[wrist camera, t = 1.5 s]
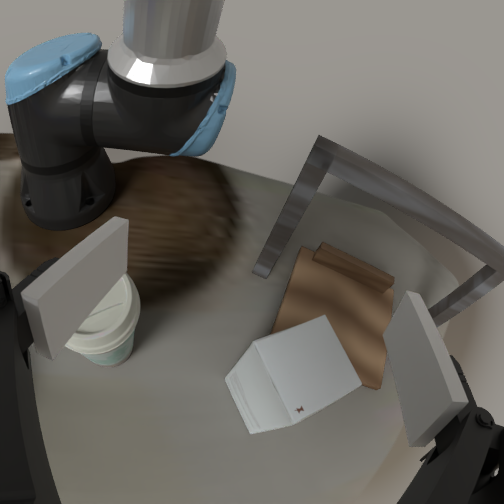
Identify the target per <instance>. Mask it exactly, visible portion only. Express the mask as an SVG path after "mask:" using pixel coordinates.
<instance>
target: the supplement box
mask: <svg viewBox="0 0 504 504" xmlns="http://www.w3.org/2000/svg"><path fill="white" fill-rule="evenodd" d="M225 381H226V383H227V385H228V388H229V390H230V392H231V394H232V397H233V399H234V401H235V403H236V405H237V407H238V410H239V412H240V414H241V416H242V418H243V420H244V422H245V424H246V426H247V428H248V430H249V433H250V434H254V433H259V432H264V431H269V430H274V429H278V428H283V427H287V426H291V425H294V424H296V423H298V422H300V421H302V420H304V419H306V418H308V417H310V416H311V415H313V414H315V413H317V412H319V411H320V410H322V409H324V408H326V407H327V406H329V405H331V404H332V403H334V402H336V401H337V400H339V399H341V398H342V397H344V396H345V395H347V394H349V393H350V392H352V391H353V390H355V389H356V388H358V387H360V386H361V385H362V382H361V380H360V379H359V377H358V375H357V373H356V371H355V369H354V367H353V365H352V364H351V362H350V360H349V358H348V356H347V354H346V352H345V350H344V349H343V347H342V345H341V343H340V341H339V339H338V337H337V336H336V334H335V332H334V330H333V328H332V326H331V324H330V323H329V321H328V319H327V317H326V315H323V316H320V317H318V318H315V319H313V320H310V321H308V322H305V323H302V324H299V325H297V326H294V327H291V328H288V329H285V330H283V331H280V332H277V333H274V334H271V335H268V336H265V337H262V338H259V339H256V340H254V341H253V342H252V343H251V345H250V346H249V348H248V349H247V351H246V352H245V353H244V354H243V356H242V357H241V358H240V359H239V361H238V362H237V363H236V364H235V366H234V367H233V368H232V369H231V371H230V372H229V373H228V375H227V376H226V377H225Z"/></svg>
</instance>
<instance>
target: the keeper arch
mask: <svg viewBox="0 0 504 504" xmlns="http://www.w3.org/2000/svg"><path fill="white" fill-rule="evenodd" d="M327 172H328V173H330V174H332V175H334V176H336V177H338V178H340V179H342V180H344V181H346V182H348V183H350V184H352V185H354V186H356V187H358V188H360V189H361V190H363V191H365V192H367V193H369V194H371V195H373V196H375V197H377V198H379V199H380V200H382V201H384V202H386V203H388V204H389V205H392V206H393V207H395V208H397V209H398V210H400V211H402V212H404V213H406V214H407V215H409V216H411V217H412V218H414V219H416V220H417V221H419V222H421V223H423V224H424V225H426V226H428V227H429V228H431V229H433V230H434V231H436V232H438V233H439V234H441V235H442V236H444V237H446V238H447V239H449V240H451V241H452V242H454V243H455V244H457V245H458V246H460V247H462V248H463V249H464V250H466V251H468V252H469V253H471V254H472V255H474V256H475V257H477V258H478V259H480V260H481V261H483V262H484V263H486V264H487V265H485V266H484V267H483V268H482V269H481V270H479V271H478V272H477V273H476V274H474V275H473V276H472V277H471V278H469V279H468V280H467V281H466V282H464V283H463V284H462V285H461V286H459V287H458V288H457V289H455V290H454V291H453V292H452V293H450V294H449V295H448V296H446V297H445V298H444V299H442V300H441V301H439V302H438V303H437V304H435V305H434V306H433V307H431V308H430V309H428V311H429V313H430V315H431V317H432V319H433V321H434V323H435V325H436V327H438V326H440V325H442V324H443V323H445V322H446V321H448V320H449V319H451V318H452V317H454V316H455V315H457V314H458V313H460V312H461V311H462V310H464V309H466V308H467V307H468V306H470V305H471V304H473V303H474V302H475V301H477V300H478V299H480V298H481V297H482V296H484V295H485V294H487V293H488V292H489V291H491V290H492V289H493V288H495V287H496V286H497V285H499V284H500V283H501V282H502V281H504V246H502V245H501V244H500V243H499V242H497V241H496V240H495V239H493V238H492V237H491V236H489V235H488V234H486V233H485V232H484V231H482V230H481V229H480V228H478V227H477V226H475V225H474V224H472V223H471V222H470V221H468V220H467V219H465V218H464V217H462V216H461V215H459V214H458V213H456V212H455V211H453V210H452V209H450V208H449V207H447V206H446V205H444V204H443V203H441V202H440V201H438V200H436V199H435V198H433V197H432V196H430V195H429V194H427V193H425V192H424V191H422V190H420V189H419V188H417V187H415V186H414V185H412V184H410V183H409V182H407V181H405V180H404V179H402V178H400V177H398V176H397V175H395V174H393V173H391V172H390V171H388V170H386V169H384V168H383V167H381V166H379V165H377V164H375V163H373V162H372V161H370V160H368V159H366V158H364V157H362V156H360V155H358V154H356V153H354V152H353V151H351V150H349V149H347V148H344V147H343V146H341V145H339V144H337V143H335V142H333V141H330V140H328V139H326V138H324V137H322V136H320V135H319V136H318V138H317V140H316V142H315V144H314V146H313V148H312V150H311V152H310V154H309V156H308V158H307V160H306V162H305V164H304V166H303V168H302V171H301V173H300V175H299V177H298V179H297V181H296V183H295V185H294V187H293V189H292V191H291V193H290V195H289V197H288V199H287V201H286V203H285V205H284V207H283V209H282V211H281V213H280V215H279V217H278V219H277V222H276V224H275V226H274V228H273V230H272V232H271V234H270V236H269V238H268V240H267V242H266V244H265V246H264V248H263V250H262V252H261V254H260V256H259V258H258V260H257V262H256V264H255V267H254V269H253V271H252V273H254V274H256V275H258V276H261V277H263V278H265V279H266V278H267V276H268V274H269V273H270V271H271V269H272V268H273V266H274V264H275V262H276V261H277V259H278V257H279V255H280V254H281V252H282V250H283V249H284V247H285V245H286V243H287V242H288V240H289V238H290V236H291V235H292V233H293V231H294V229H295V228H296V226H297V224H298V222H299V221H300V219H301V217H302V215H303V214H304V212H305V210H306V208H307V207H308V205H309V203H310V201H311V200H312V198H313V196H314V194H315V192H316V191H317V189H318V187H319V185H320V183H321V182H322V180H323V178H324V176H325V174H326V173H327ZM393 284H394V277H393V276H391V275H389V274H387V273H385V272H383V271H381V270H379V269H377V268H375V267H373V266H371V265H369V264H367V263H365V262H363V261H361V260H359V259H357V258H355V257H353V256H351V255H349V254H347V253H345V252H343V251H341V250H339V249H336V248H334V247H332V246H330V245H328V244H326V243H324V242H322V243H321V245H320V246H319V248H318V249H317V250H316V252H313V251H311V250H309V249H307V248H305V247H303V246H302V247H301V248H300V250H299V253H298V256H297V259H296V262H295V265H294V268H293V271H292V274H291V277H290V280H289V282H288V285H287V288H286V291H285V294H284V297H283V300H282V303H281V305H280V308H279V311H278V314H277V317H276V320H275V322H274V325H273V328H272V331H271V333H270V335H271V334H274V333H277V332H280V331H283V330H285V329H288V328H291V327H294V326H297V325H299V324H302V323H305V322H308V321H310V320H313V319H315V318H318V317H320V316H323V315H326V317H327V319H328V321H329V323H330V324H331V326H332V328H333V330H334V332H335V334H336V336H337V337H338V339H339V341H340V343H341V345H342V347H343V349H344V350H345V352H346V354H347V356H348V358H349V360H350V362H351V364H352V365H353V367H354V369H355V371H356V373H357V375H358V377H359V379H360V380H361V382H362V385H363V386H366V387H369V388H372V389H375V390H378V389H380V388H381V384H382V378H383V372H384V366H385V360H386V353H387V349H386V345H385V342H384V338H383V333H384V332H385V330H386V328H387V326H388V324H389V323H390V321H391V315H392V305H393V295H394V290H393V289H391V288H390V287H391V286H392V285H393Z"/></svg>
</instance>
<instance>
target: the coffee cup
mask: <svg viewBox="0 0 504 504" xmlns="http://www.w3.org/2000/svg"><path fill="white" fill-rule="evenodd" d="M139 315H140V297H139V293H138V291H137V288H136V286H135V284H134V282H133V281H132V279H131V278H130V276H129V275H128V274H127V273H125V274H124V275H123V276H122V277H121V278H120V279H119V280H118V282H117V283H116V284H115V285H114V286H113V287H112V289H111V290H110V291H109V292H108V293H107V294H106V296H105V297H104V298H103V299H102V300H101V301H100V303H99V304H98V305H97V306H96V307H95V309H94V310H93V311H92V312H91V313H90V315H89V316H88V317H87V318H86V319H85V321H84V322H83V323H82V324H81V326H80V327H79V328H78V329H77V330H76V332H75V333H74V334H73V335H72V337H71V338H70V339H69V340H68V342H67V343H66V344H65V346H66V347H67V348H69V349H71V350H73V351H76V352H79V353H81V354H82V355H83V356H85V357H86V358H88V359H89V360H91V361H92V362H94V363H95V364H97V365H99V366H102V367H116V366H119V365H121V364H122V363H124V362H125V361H126V360H127V359H128V358H129V356H130V354H131V352H132V349H133V341H134V332H135V327H136V325H137V322H138V319H139Z"/></svg>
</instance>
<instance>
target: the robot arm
mask: <svg viewBox="0 0 504 504" xmlns="http://www.w3.org/2000/svg"><path fill="white" fill-rule="evenodd" d="M224 1H225V0H124V14H123V34H121V35H120V36H119V37H118V38H117V39H116V40H115V41H114V42H113V43H112V44H111V46H110V48H109V50H104V49H100V48H101V46H102V42H101V41H100V38H99V37H98V35H96V34H91V33H77V34H71V35H66V36H62V37H58V38H55V39H52V40H49V41H47V42H44V43H42V44H40V45H37V46H35V47H33V48H31V49H30V50H28V51H26V52H25V53H23V54H22V55H20V56H19V57H18V58H17V59H15V60H14V62H12V64H11V65H10V66H9V68H8V70H7V72H6V75H5V86H6V103H7V105H8V111H9V115H10V120H11V124H12V128H13V133H14V137H15V141H16V144H17V148H18V152H19V155H20V159H21V163H22V172H21V190H20V195H21V201H22V204H23V207H24V210H25V212H26V214H27V216H28V218H29V219H30V220H31V221H32V222H33V223H34V224H36V225H37V226H39V227H42V228H45V229H48V230H68V229H73V228H76V227H79V226H82V225H84V224H86V223H88V222H90V221H92V220H93V219H95V218H96V217H98V216H99V215H100V214H101V213H102V212H103V211H104V210H105V209H106V208H107V207H108V205H109V204H110V202H111V201H112V199H113V196H114V193H115V188H116V183H115V172H114V168H113V165H112V163H111V161H110V159H109V157H108V155H107V154H106V152H105V149H104V147H105V148H114V149H124V150H133V151H141V152H149V153H157V154H164V155H169V156H178V155H182V156H201V155H203V154H205V153H206V152H208V150H210V148H211V147H212V146H213V144H214V142H215V140H216V138H217V136H218V134H219V132H220V130H221V127H222V125H223V122H224V119H225V116H226V110H227V108H228V105H229V103H230V101H231V97H232V94H233V89H234V84H235V79H236V68H235V66H234V64H233V63H231V62H228V61H227V60H226V56H227V52H226V48H225V46H224V44H223V42H222V41H221V40H220V39H219V38H218V37H217V36H216V31H217V28H218V24H219V20H220V16H221V12H222V8H223V5H224ZM128 223H129V220H127V219H123V218H119V217H115V216H114V217H113V218H112V219H110V220H109V221H108V222H106V223H105V224H104V225H102V226H101V227H100V228H98V229H97V230H96V231H94V232H93V233H92V234H90V235H89V236H88V237H87V238H85V239H84V240H83V241H81V242H80V243H79V244H78V245H76V246H75V247H74V248H73V249H71V250H70V251H69V252H68V253H66V254H65V255H64V256H63V257H62V258H60V259H59V258H56V257H55V258H53V259H51V260H48V261H46V262H44V263H43V264H42V265H40V266H39V267H38V268H37V270H34V271H33V272H32V273H31V274H30V275H28V276H27V277H26V278H25V279H24V280H22V281H21V282H20V283H19V284H18V285H17V286H15V287H14V288H13V289H11V284H10V279H9V276H8V275H7V274H6V273H4V272H1V271H0V504H61V501H60V498H59V495H58V492H57V489H56V486H55V483H54V480H53V476H52V473H51V469H50V466H49V462H48V458H47V454H46V450H45V446H44V441H43V437H42V432H41V428H40V422H39V417H38V412H37V406H36V400H35V393H34V386H33V378H32V369H31V359H30V352H29V349H28V348H29V346H30V345H31V344H32V343H33V342H34V345H35V348H36V351H37V353H38V354H40V355H42V356H44V357H46V358H48V359H50V360H52V361H53V360H54V358H55V357H56V356H57V355H58V353H59V352H60V351H61V349H62V348H63V347H64V346H65V344H66V343H67V342H68V340H69V339H70V338H71V337H72V335H73V334H74V333H75V332H76V330H77V329H78V328H79V327H80V326H81V324H82V323H83V322H84V321H85V319H86V318H87V317H88V316H89V315H90V313H91V312H92V311H93V310H94V309H95V307H96V306H97V305H98V304H99V303H100V301H101V300H102V299H103V298H104V297H105V296H106V294H107V293H108V292H109V291H110V290H111V289H112V287H113V286H114V285H115V284H116V283H117V282H118V280H119V279H120V278H121V277H122V276H123V275H124V274H125V273H126V271H127V247H128ZM383 338H384V342H385V345H386V349H387V353H388V356H389V360H390V364H391V368H392V372H393V376H394V380H395V384H396V388H397V392H398V396H399V401H400V405H401V409H402V414H403V419H404V423H405V428H406V433H407V438H408V443H409V447H425V446H426V445H427V444H428V443H429V442H430V441H432V440H433V439H434V438H435V442H436V446H435V447H434V448H432V449H431V450H430V451H429V452H428V453H427V454H426V455H425V456H423V457H422V458H421V459H420V461H421V462H422V461H423V460H424V459H426V460H425V461H424V463H423V465H422V466H421V468H420V469H419V471H418V473H417V474H416V476H415V477H414V479H413V480H412V482H411V484H410V485H409V487H408V488H407V490H406V491H405V493H404V494H403V495H402V497H401V498H400V500H399V501H398V502H397V504H504V427H503V426H500V425H496V424H495V422H494V419H493V417H492V416H491V414H490V413H489V412H488V411H487V410H485V409H483V408H481V407H477V405H476V402H475V400H474V398H473V395H472V392H471V390H470V388H469V385H468V383H466V378H465V376H464V375H463V372H462V369H461V367H460V364H459V363H458V362H457V361H456V360H455V358H454V357H453V356H451V355H449V353H448V351H447V349H446V347H445V345H444V342H443V340H442V338H441V336H440V334H439V332H438V330H437V327H436V325H435V323H434V321H433V319H432V317H431V315H430V313H429V311H428V309H427V307H426V305H425V303H424V301H423V300H422V298H421V296H420V294H419V293H415V292H411V291H407V290H406V292H405V294H404V296H403V298H402V300H401V302H400V304H399V306H398V308H397V309H396V311H395V313H394V315H393V317H392V319H391V321H390V323H389V324H388V326H387V328H386V330H385V332H384V333H383ZM498 468H499V471H498V474H497V475H496V476H494V472H495V470H496V469H498Z"/></svg>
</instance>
